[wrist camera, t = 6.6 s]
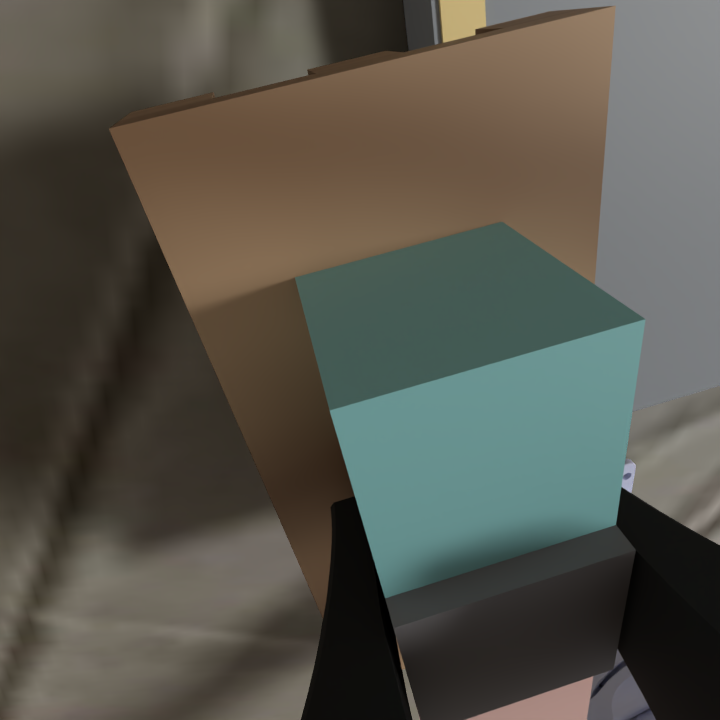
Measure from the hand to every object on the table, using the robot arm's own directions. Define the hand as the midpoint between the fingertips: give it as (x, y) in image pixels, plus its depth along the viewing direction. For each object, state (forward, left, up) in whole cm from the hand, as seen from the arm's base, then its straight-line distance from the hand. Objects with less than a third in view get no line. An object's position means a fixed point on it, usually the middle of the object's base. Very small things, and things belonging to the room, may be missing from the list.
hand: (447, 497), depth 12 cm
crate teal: (+4, 0, -1) cm, 4 cm away
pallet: (0, 0, -3) cm, 3 cm away
